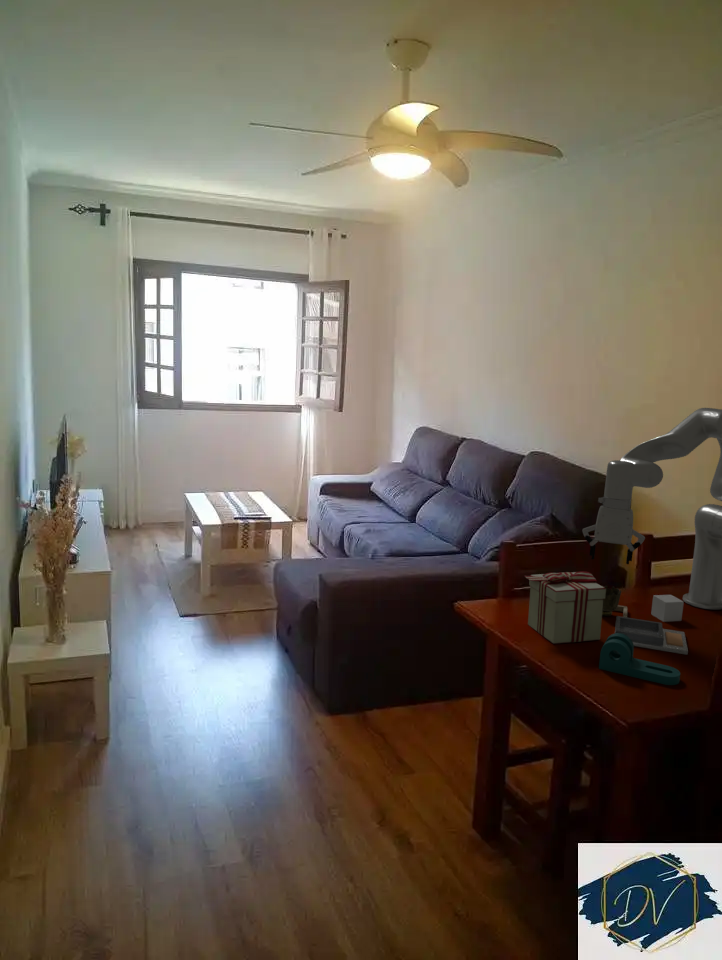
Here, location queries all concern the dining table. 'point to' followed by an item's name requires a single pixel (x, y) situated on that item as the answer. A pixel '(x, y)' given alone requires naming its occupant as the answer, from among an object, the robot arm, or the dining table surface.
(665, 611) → the white cube
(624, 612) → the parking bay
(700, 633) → the dining table surface
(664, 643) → the grey flat rectangular tray
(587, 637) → the gift box
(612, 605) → the cup
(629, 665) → the bracket
